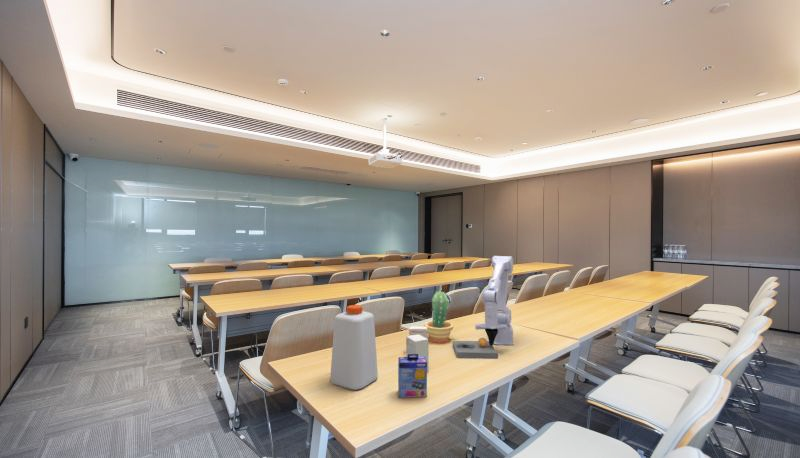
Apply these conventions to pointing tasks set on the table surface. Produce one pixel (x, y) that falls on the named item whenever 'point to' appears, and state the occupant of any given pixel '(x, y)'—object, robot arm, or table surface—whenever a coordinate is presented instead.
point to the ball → (482, 342)
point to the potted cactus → (439, 318)
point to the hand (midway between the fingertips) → (491, 344)
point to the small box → (417, 346)
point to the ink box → (418, 331)
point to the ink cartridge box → (412, 376)
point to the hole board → (474, 350)
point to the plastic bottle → (354, 349)
